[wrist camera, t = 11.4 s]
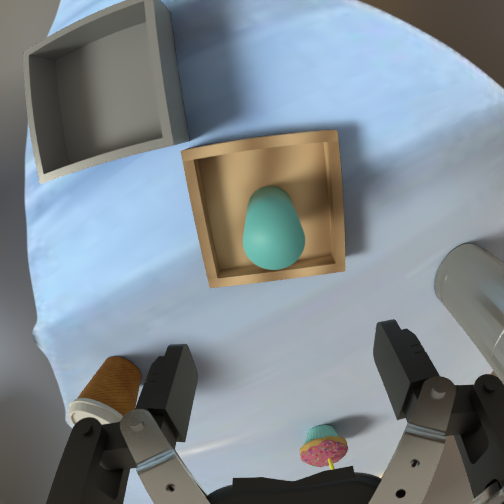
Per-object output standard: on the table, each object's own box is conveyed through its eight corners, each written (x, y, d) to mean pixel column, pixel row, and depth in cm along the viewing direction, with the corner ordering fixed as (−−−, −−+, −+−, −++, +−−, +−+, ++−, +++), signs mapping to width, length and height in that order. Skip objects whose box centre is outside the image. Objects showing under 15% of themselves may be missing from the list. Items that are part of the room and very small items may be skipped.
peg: (289, 182, 28) (302, 207, 20) (294, 225, 30) (307, 265, 22) (244, 189, 29) (237, 216, 21) (251, 231, 31) (248, 273, 22)
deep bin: (170, 12, 22) (152, -9, 17) (189, 141, 28) (173, 145, 22) (54, 58, 23) (23, 52, 18) (71, 172, 29) (40, 184, 23)
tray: (329, 129, 27) (337, 130, 24) (338, 258, 33) (345, 271, 30) (188, 148, 28) (180, 151, 25) (213, 274, 34) (209, 288, 31)
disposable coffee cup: (86, 348, 40) (53, 404, 29) (137, 347, 39) (108, 412, 28) (111, 389, 43) (88, 444, 32) (160, 390, 42) (142, 452, 32)
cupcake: (311, 416, 45) (320, 476, 34) (352, 421, 46) (365, 475, 35) (290, 440, 48) (294, 494, 37) (329, 443, 49) (337, 494, 38)
